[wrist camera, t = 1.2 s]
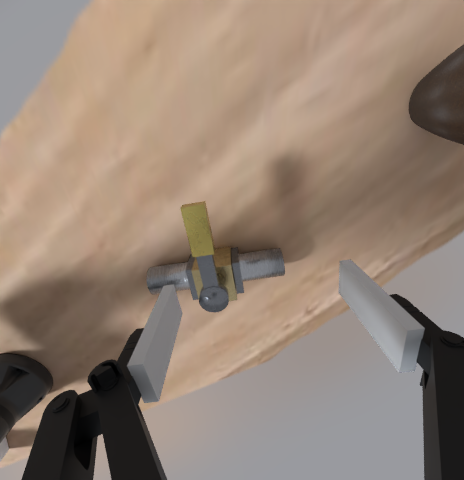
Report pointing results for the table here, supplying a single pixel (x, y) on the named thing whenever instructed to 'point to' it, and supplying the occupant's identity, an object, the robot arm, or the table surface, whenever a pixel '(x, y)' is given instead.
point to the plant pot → (441, 99)
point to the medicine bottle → (3, 448)
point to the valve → (218, 271)
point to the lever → (204, 256)
